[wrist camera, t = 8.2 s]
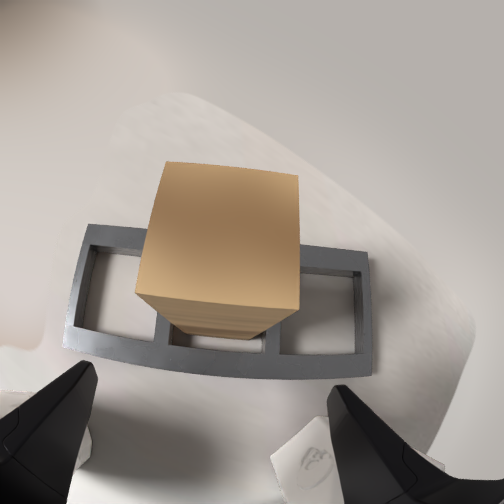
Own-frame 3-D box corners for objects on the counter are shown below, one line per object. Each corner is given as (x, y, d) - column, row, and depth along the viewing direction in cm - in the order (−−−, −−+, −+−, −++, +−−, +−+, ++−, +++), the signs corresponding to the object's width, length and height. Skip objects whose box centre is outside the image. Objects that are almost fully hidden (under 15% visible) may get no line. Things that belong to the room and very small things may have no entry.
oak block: (248, 340, 19) (299, 309, 7) (186, 334, 19) (134, 292, 7) (252, 281, 21) (298, 175, 9) (193, 275, 21) (165, 161, 9)
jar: (336, 390, 17) (454, 454, 5) (391, 441, 16) (491, 496, 5) (244, 470, 15) (269, 592, 3) (313, 511, 14) (367, 600, 3)
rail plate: (362, 375, 19) (371, 375, 18) (71, 348, 17) (62, 346, 16) (359, 258, 23) (367, 252, 22) (94, 231, 21) (88, 223, 19)
